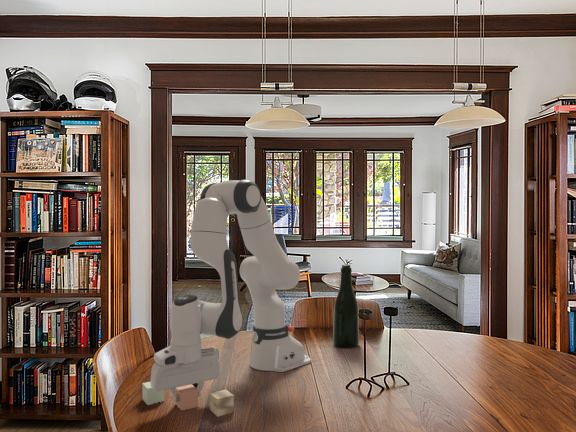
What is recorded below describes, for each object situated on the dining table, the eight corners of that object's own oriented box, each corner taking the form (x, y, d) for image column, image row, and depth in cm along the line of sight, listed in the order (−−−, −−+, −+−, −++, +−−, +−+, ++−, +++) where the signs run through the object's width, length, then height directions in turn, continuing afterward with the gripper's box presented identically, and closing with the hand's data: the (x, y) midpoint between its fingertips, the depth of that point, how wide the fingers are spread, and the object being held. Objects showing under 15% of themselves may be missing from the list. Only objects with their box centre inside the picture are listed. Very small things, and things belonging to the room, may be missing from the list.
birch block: (226, 406, 144) (225, 389, 144) (233, 412, 140) (233, 395, 140) (210, 410, 141) (210, 393, 141) (217, 416, 137) (217, 399, 137)
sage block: (158, 395, 152) (158, 379, 152) (164, 401, 148) (164, 385, 147) (142, 399, 149) (142, 383, 149) (147, 405, 145) (147, 388, 145)
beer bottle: (341, 339, 210) (341, 262, 208) (363, 344, 203) (363, 264, 202) (328, 346, 201) (328, 265, 200) (351, 350, 195) (351, 267, 194)
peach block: (191, 400, 148) (191, 384, 148) (198, 406, 144) (197, 389, 143) (175, 404, 145) (175, 387, 145) (181, 410, 141) (181, 393, 141)
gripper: (214, 343, 152) (215, 387, 153) (148, 355, 141) (149, 403, 142) (223, 348, 147) (223, 394, 147) (155, 361, 136) (156, 411, 136)
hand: (186, 399), depth 144 cm, fingers closed on peach block, 5 cm apart
